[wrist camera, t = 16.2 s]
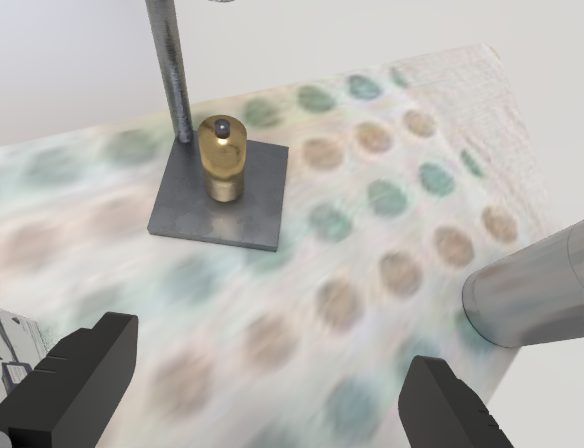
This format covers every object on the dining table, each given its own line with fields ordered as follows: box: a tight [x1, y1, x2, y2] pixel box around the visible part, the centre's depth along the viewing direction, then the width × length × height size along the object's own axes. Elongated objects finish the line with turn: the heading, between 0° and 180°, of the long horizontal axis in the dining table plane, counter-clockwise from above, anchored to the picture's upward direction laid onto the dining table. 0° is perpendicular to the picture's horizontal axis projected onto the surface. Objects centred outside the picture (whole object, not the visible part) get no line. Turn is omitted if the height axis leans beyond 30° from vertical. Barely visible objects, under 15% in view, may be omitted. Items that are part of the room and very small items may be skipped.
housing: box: [198, 115, 247, 202], centre depth 35 cm, size 4×4×10 cm
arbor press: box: [145, 0, 289, 252], centre depth 27 cm, size 15×15×32 cm
